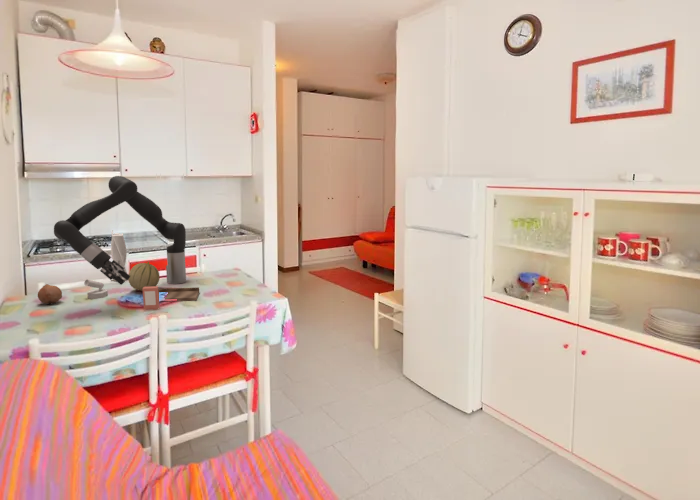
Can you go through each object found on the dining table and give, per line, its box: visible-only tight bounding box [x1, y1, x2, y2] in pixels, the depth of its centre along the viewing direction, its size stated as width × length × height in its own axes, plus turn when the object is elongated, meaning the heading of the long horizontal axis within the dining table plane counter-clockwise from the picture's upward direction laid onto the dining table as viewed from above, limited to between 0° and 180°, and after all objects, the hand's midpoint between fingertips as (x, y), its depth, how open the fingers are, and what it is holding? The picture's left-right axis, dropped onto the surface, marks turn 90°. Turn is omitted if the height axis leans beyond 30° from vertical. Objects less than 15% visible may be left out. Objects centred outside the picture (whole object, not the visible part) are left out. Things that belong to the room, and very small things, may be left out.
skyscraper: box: [110, 230, 128, 283], centre depth 248 cm, size 8×8×28 cm
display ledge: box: [158, 286, 200, 302], centre depth 220 cm, size 20×13×3 cm, turn 102°
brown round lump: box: [37, 283, 63, 305], centre depth 207 cm, size 10×9×10 cm
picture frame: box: [142, 285, 160, 310], centre depth 202 cm, size 6×3×10 cm, turn 102°
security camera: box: [84, 278, 108, 300], centre depth 219 cm, size 9×10×10 cm
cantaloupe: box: [127, 261, 160, 292], centre depth 230 cm, size 15×15×15 cm
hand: (126, 280), depth 199 cm, fingers open, 8 cm apart
